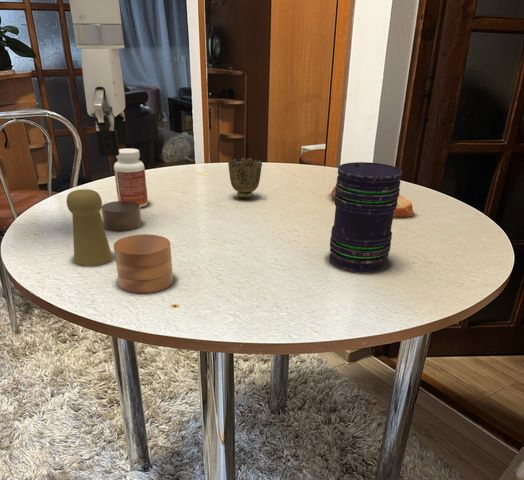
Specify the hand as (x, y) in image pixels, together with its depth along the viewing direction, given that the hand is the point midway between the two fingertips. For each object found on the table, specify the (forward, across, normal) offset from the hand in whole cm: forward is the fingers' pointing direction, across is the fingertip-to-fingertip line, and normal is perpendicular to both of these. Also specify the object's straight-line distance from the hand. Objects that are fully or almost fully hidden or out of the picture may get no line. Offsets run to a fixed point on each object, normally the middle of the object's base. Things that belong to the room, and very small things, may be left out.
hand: (115, 149), depth 91 cm
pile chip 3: (+14, +27, +8) cm, 31 cm away
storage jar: (+14, +19, +42) cm, 48 cm away
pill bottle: (+14, -12, 0) cm, 19 cm away
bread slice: (+15, -14, +52) cm, 56 cm away
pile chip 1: (+10, +27, +8) cm, 29 cm away
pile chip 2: (+12, +27, +8) cm, 30 cm away
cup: (+14, -18, +24) cm, 33 cm away
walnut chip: (+14, +1, 0) cm, 14 cm away
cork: (+14, +18, -2) cm, 22 cm away
